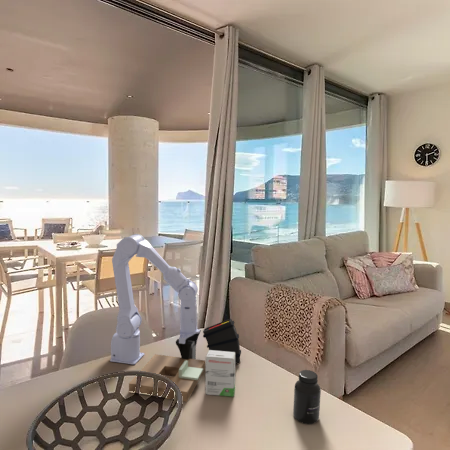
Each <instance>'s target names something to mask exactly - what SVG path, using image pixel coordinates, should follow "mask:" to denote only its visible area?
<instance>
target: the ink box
mask: <svg viewBox="0 0 450 450" xmlns="http://www.w3.org/2000/svg"><path fill="white" fill-rule="evenodd" d="M235 391H236V363H235V352H227V351H215V350H209V349H208V351H207V354H206V356H205V395H209V396H210V395H211V396H220V397H221V396H222V397H230V398H231V397H235Z"/></svg>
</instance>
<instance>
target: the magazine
mask: <svg viewBox="0 0 450 450" xmlns="http://www.w3.org/2000/svg"><path fill="white" fill-rule="evenodd" d="M202 334H203V336H202V337H203V338H205V340H206V342H207V345H206V348H207V349H208V351H209V350H215V351H227V352H235V364H240V362H241V354H242V349H240V348H241V345H240V341H239V338H240V335H239V333H237V329H236V326H235V320H233V319H232V318H229V319H226V320H223V321H221V322H218V323H216V324H212V325H211V326H208V327H205V328H204V329H203V330H202Z"/></svg>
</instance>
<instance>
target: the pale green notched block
mask: <svg viewBox="0 0 450 450" xmlns="http://www.w3.org/2000/svg"><path fill="white" fill-rule="evenodd" d="M202 371H203V369H202V368H195V367H188V361H187V360H185V361H184V363H183V364H182V366H181V367H180V368H179V378H185V379H192V380H198V379H199V377H200V375H201V373H202ZM199 380H200V379H199Z"/></svg>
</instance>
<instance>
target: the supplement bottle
mask: <svg viewBox="0 0 450 450" xmlns="http://www.w3.org/2000/svg"><path fill="white" fill-rule="evenodd" d="M318 375H319V374H317V373H316V372H315V371H313V370H309V369H302V370H299V373H298V380H297V381H296V382H295V384H294V388H293V389H294V391H293V392H294V393H293V409H292V414H293V416H294V418H295V419H296V421H297V422H299V423H302V424H305V425H313V424H316V423H317V422H318V421H319V418H320V410H321V395H322V394H321V391H322V389H321V386H320V384H319V383H318Z"/></svg>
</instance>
